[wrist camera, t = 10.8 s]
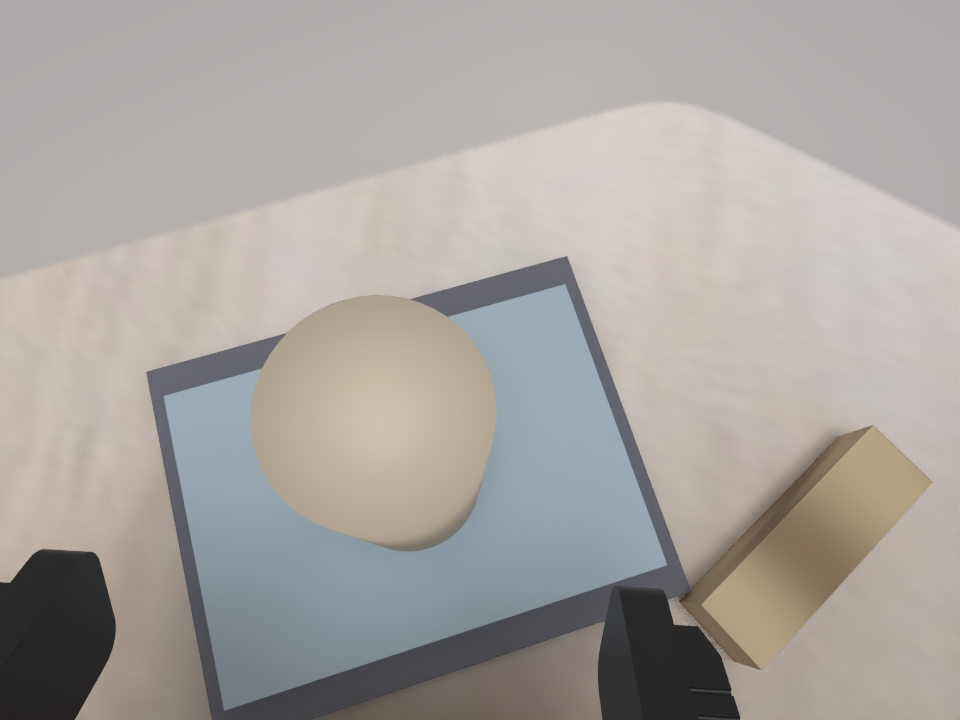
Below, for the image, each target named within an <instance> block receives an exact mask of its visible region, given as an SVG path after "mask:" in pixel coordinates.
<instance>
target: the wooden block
mask: <svg viewBox="0 0 960 720" xmlns="http://www.w3.org/2000/svg"><path fill="white" fill-rule="evenodd" d="M932 483H933V482H932V481H931V480H930V479H929V478H928V477H927V476H926V475H925V474H924V473H923V472H922V471H921V470H920V469H919V468H918V467H917V466H915V465H914V464H913V463H912V462H911V461H910V460H909V459H908V458H907V457H906V456H905V455H904V454H903V453H902V452H901V451H900V450H899V449H898V448H897V447H896V446H895V445H894V444H892V443H891V442H890V441H889V440H888V439H887V438H886V437H885V436H884V435H883V434H882V433H881V432H880V431H879V430H878V429H877V428H876V427H875V426H874V425H872V426H869V427H866V428H863V429H860V430H857V431H854V432H851V433H848V434H846V435H843V436H840V437H838V438H837V439H836V440H835V441H834V442H833V443H832V444H831V445H830V446H829V447H828V448H827V449H826V450H825V451H824V453H823V454H822V455H821V456H820V457H819V458H818V459H817V460H816V461H815V462H814V463H813V464H812V465H811V466H810V467H809V468H808V469H807V470H806V471H805V472H804V473H803V474H802V475H801V476H800V477H799V478H798V479H797V480H796V481H795V482H794V484H793V485H792V486H791V487H790V488H789V489H788V490H787V491H786V492H785V493H784V494H783V495H782V496H781V497H780V498H779V499H778V500H777V501H776V502H775V503H774V504H773V505H772V506H771V507H770V508H769V509H768V510H767V511H766V512H765V513H764V515H763V516H762V517H761V518H760V519H759V520H758V521H757V522H756V523H755V524H754V525H753V526H752V527H751V528H750V529H749V530H748V531H747V532H746V533H745V534H744V535H743V536H742V537H741V538H740V539H739V540H738V541H737V542H736V543H735V545H734V546H733V547H732V548H731V549H730V550H729V551H728V552H727V553H726V554H725V555H724V556H723V557H722V558H721V559H720V560H719V561H718V562H717V563H716V564H715V565H714V566H713V567H712V568H711V569H710V570H709V571H708V572H707V573H706V574H705V576H704V577H703V578H702V579H701V580H700V581H699V582H698V583H697V584H696V585H695V586H694V587H693V588H692V589H691V590H690V591H691V592H688V593H687V594H686V595H685V596H684V597H683V598H682V599H681V600H680V601H679V602H680V603H681V604H682V605H683V606H684V607H685V609H686V610H687V611H688V612H689V613H690V614H691V615H692V616H693V617H694V618H695V619H696V620H697V622H698V623H699V624H700V625H701V626H702V627H703V628H704V629H705V630H706V631H707V632H708V633H709V634H710V636H711V637H712V638H713V639H714V640H715V641H716V642H717V643H718V644H719V645H720V646H721V647H722V649H723V650H724V651H725V652H726V653H727V654H728V655H729V656H730V657H731V658H732V659H733V660H734V661H735V662H738V663H741V664H744V665H747V666H750V667H753V668H756V669H759V670H763V669H764V668H765V667H766V666H767V665H768V663H769V662H770V661H771V660H772V659H773V658H774V657H775V656H776V655H777V654H778V652H779V651H780V650H781V649H782V648H783V647H784V646H785V645H786V644H787V643H788V641H789V640H790V639H791V638H792V637H793V636H794V635H795V634H796V633H797V631H798V630H799V629H800V628H801V627H802V626H803V625H804V624H805V623H806V622H807V620H808V619H809V618H810V617H811V616H812V615H813V614H814V613H815V612H816V611H817V609H818V608H819V607H820V606H821V605H822V604H823V603H824V602H825V601H826V600H827V598H828V597H829V596H830V595H831V594H832V593H833V592H834V591H835V590H836V588H837V587H838V586H839V585H840V584H841V583H842V582H843V581H844V580H845V579H846V577H847V576H848V575H849V574H850V573H851V572H852V571H853V570H854V569H855V568H856V566H857V565H858V564H859V563H860V562H861V561H862V560H863V559H864V558H865V557H866V555H867V554H868V553H869V552H870V551H871V550H872V549H873V548H874V547H875V545H876V544H877V543H878V542H879V541H880V540H881V539H882V538H883V537H884V536H885V534H886V533H887V532H888V531H889V530H890V529H891V528H892V527H893V526H894V525H895V523H896V522H897V521H898V520H899V519H900V518H901V517H902V516H903V515H904V514H905V512H906V511H907V510H908V509H909V508H910V507H911V506H912V505H913V504H914V502H915V501H916V500H917V499H918V498H919V497H920V496H921V495H922V494H923V493H924V491H925V490H926V489H927V488H928V487H929V486H930V485H931V484H932Z"/></svg>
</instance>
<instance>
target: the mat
mask: <svg viewBox="0 0 960 720" xmlns="http://www.w3.org/2000/svg"><path fill="white" fill-rule="evenodd" d="M564 284H566V287H567V290H568V293H569V295H570V298H571V301H572V304H573V306H574V309H575V312H576V315H577V317H578V320H579V323H580V326H581V328H582V331H583V334H584V337H585V339H586V342H587V345H588V348H589V350H590V353H591V356H592V359H593V362H594V364H595V367H596V370H597V373H598V375H599V378H600V381H601V384H602V386H603V389H604V392H605V395H606V397H607V400H608V403H609V406H610V408H611V411H612V414H613V417H614V419H615V422H616V425H617V428H618V430H619V433H620V436H621V439H622V441H623V444H624V447H625V450H626V452H627V455H628V458H629V461H630V463H631V466H632V469H633V472H634V474H635V477H636V480H637V483H638V485H639V488H640V491H641V494H642V496H643V499H644V502H645V505H646V507H647V510H648V513H649V516H650V518H651V521H652V524H653V527H654V530H655V532H656V535H657V538H658V541H659V543H660V546H661V549H662V552H663V554H664V557H665V560H666V563H667V565H666V566H663V567H660V568H657V569H654V570H651V571H648V572H645V573H642V574H639V575H636V576H633V577H629V578H626V579H623V580H620V581H617V582H614V583H611V584H608V585H605V586H602V587H599V588H596V589H593V590H590V591H587V592H584V593H581V594H578V595H575V596H572V597H569V598H566V599H563V600H560V601H556V602H553V603H550V604H547V605H544V606H541V607H538V608H535V609H532V610H529V611H526V612H523V613H520V614H517V615H514V616H511V617H508V618H505V619H502V620H499V621H496V622H493V623H490V624H487V625H483V626H480V627H477V628H474V629H471V630H468V631H465V632H462V633H459V634H456V635H453V636H450V637H447V638H444V639H441V640H438V641H435V642H432V643H429V644H426V645H423V646H420V647H417V648H414V649H411V650H407V651H404V652H401V653H398V654H395V655H392V656H389V657H386V658H383V659H380V660H377V661H374V662H371V663H368V664H365V665H362V666H359V667H356V668H353V669H350V670H347V671H344V672H341V673H338V674H334V675H331V676H328V677H325V678H322V679H319V680H316V681H313V682H310V683H307V684H304V685H301V686H298V687H295V688H292V689H289V690H286V691H283V692H280V693H277V694H274V695H271V696H268V697H265V698H261V699H258V700H255V701H252V702H249V703H246V704H243V705H240V706H237V707H234V708H231V709H228V710H225V711H224V707H223V702H222V697H221V691H220V686H219V681H218V676H217V671H216V666H215V660H214V655H213V650H212V645H211V640H210V634H209V629H208V624H207V619H206V614H205V609H204V603H203V598H202V593H201V588H200V583H199V577H198V572H197V567H196V562H195V557H194V551H193V546H192V541H191V536H190V531H189V526H188V520H187V515H186V510H185V505H184V500H183V494H182V489H181V484H180V479H179V474H178V469H177V463H176V458H175V453H174V448H173V443H172V437H171V432H170V427H169V422H168V417H167V411H166V406H165V401H164V396H165V395H169V394H173V393H176V392H180V391H183V390H187V389H191V388H194V387H198V386H201V385H205V384H209V383H212V382H216V381H219V380H223V379H226V378H230V377H234V376H237V375H241V374H244V373H248V372H252V371H255V370H259V369H262V368H263V366H264V364H265V362H266V361H267V359H268V357H269V355H270V354H271V352H272V351H273V349H274V348H275V347H276V345H277V344H278V343H279V341H280V340H281V339H282V338H283V337H284V336H285V335H286V334H287V333H286V334H282V335H279V336H275V337H272V338H268V339H264V340H261V341H257V342H253V343H250V344H246V345H243V346H239V347H235V348H232V349H228V350H224V351H221V352H217V353H213V354H210V355H206V356H203V357H199V358H195V359H192V360H188V361H184V362H181V363H177V364H174V365H170V366H166V367H163V368H159V369H155V370H152V371H148V372H146V373H147V378H148V383H149V389H150V394H151V399H152V404H153V410H154V415H155V420H156V426H157V431H158V436H159V441H160V447H161V452H162V457H163V463H164V468H165V473H166V478H167V484H168V489H169V494H170V499H171V505H172V510H173V515H174V521H175V526H176V531H177V536H178V542H179V547H180V552H181V558H182V563H183V568H184V573H185V579H186V584H187V589H188V594H189V600H190V605H191V610H192V616H193V621H194V626H195V631H196V637H197V642H198V647H199V653H200V658H201V663H202V668H203V674H204V679H205V684H206V689H207V695H208V700H209V705H210V711H211V716H212V720H310V719H313V718H316V717H319V716H322V715H325V714H328V713H331V712H334V711H337V710H340V709H343V708H346V707H349V706H352V705H355V704H358V703H361V702H364V701H367V700H370V699H373V698H376V697H379V696H382V695H385V694H388V693H391V692H394V691H397V690H400V689H403V688H406V687H409V686H412V685H415V684H418V683H420V682H423V681H426V680H429V679H432V678H435V677H438V676H441V675H444V674H447V673H450V672H453V671H456V670H459V669H462V668H465V667H468V666H471V665H474V664H477V663H480V662H483V661H486V660H489V659H492V658H495V657H498V656H501V655H504V654H507V653H510V652H513V651H516V650H519V649H522V648H525V647H528V646H531V645H534V644H537V643H540V642H543V641H545V640H548V639H551V638H554V637H557V636H560V635H563V634H566V633H569V632H572V631H575V630H578V629H581V628H584V627H587V626H590V625H593V624H596V623H599V622H602V621H605V620H606V616H607V611H608V606H609V601H610V596H611V592H612V589H613V587H614V586H631V587H647V588H662V589H663V590H664V592H665V594H666V597H667V600H668V599H670V598H673V597H676V596H679V595H682V594H685V593H688V592H691V591H690V588H689V585H688V582H687V580H686V577H685V574H684V572H683V569H682V566H681V563H680V561H679V558H678V555H677V553H676V550H675V547H674V545H673V542H672V539H671V536H670V534H669V531H668V528H667V526H666V523H665V520H664V517H663V515H662V512H661V509H660V507H659V504H658V501H657V499H656V496H655V493H654V490H653V488H652V485H651V482H650V480H649V477H648V474H647V471H646V469H645V466H644V463H643V461H642V458H641V455H640V452H639V450H638V447H637V444H636V442H635V439H634V436H633V434H632V431H631V428H630V425H629V423H628V420H627V417H626V415H625V412H624V409H623V406H622V404H621V401H620V398H619V396H618V393H617V390H616V388H615V385H614V382H613V379H612V377H611V374H610V371H609V369H608V366H607V363H606V360H605V358H604V355H603V352H602V350H601V347H600V344H599V342H598V339H597V336H596V333H595V331H594V328H593V325H592V323H591V320H590V317H589V314H588V312H587V309H586V306H585V304H584V301H583V298H582V295H581V293H580V290H579V287H578V285H577V282H576V279H575V277H574V274H573V271H572V268H571V266H570V263H569V260H568V258H567V256H566V257H562V258H558V259H555V260H551V261H548V262H544V263H540V264H537V265H533V266H529V267H526V268H522V269H519V270H515V271H511V272H508V273H504V274H500V275H497V276H493V277H489V278H486V279H482V280H479V281H475V282H471V283H468V284H464V285H460V286H457V287H453V288H450V289H446V290H442V291H439V292H435V293H431V294H428V295H424V296H420V297H417V298H413V299H410V300H412V301H416V302H419V303H422V304H424V305H426V306H429V307H431V308H433V309H435V310H437V311H439V312H440V313H442V314H444V315H445V316H447V317H449V316H453V315H456V314H460V313H463V312H467V311H471V310H474V309H478V308H481V307H485V306H489V305H492V304H496V303H499V302H503V301H507V300H510V299H514V298H517V297H521V296H525V295H528V294H532V293H535V292H539V291H543V290H546V289H550V288H553V287H557V286H560V285H564Z"/></svg>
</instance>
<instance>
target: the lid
mask: <svg viewBox="0 0 960 720" xmlns="http://www.w3.org/2000/svg"><path fill="white" fill-rule="evenodd" d="M164 401H165V406H166V411H167V417H168V422H169V427H170V432H171V437H172V443H173V448H174V453H175V458H176V463H177V469H178V474H179V479H180V484H181V489H182V494H183V500H184V505H185V510H186V515H187V520H188V526H189V531H190V536H191V541H192V546H193V551H194V557H195V562H196V567H197V572H198V577H199V583H200V588H201V593H202V598H203V603H204V609H205V614H206V619H207V624H208V629H209V634H210V640H211V645H212V650H213V655H214V660H215V666H216V671H217V676H218V681H219V686H220V691H221V697H222V702H223V707H224V711H225V710H228V709H231V708H234V707H237V706H240V705H243V704H246V703H249V702H252V701H255V700H258V699H261V698H265V697H268V696H271V695H274V694H277V693H280V692H283V691H286V690H289V689H292V688H295V687H298V686H301V685H304V684H307V683H310V682H313V681H316V680H319V679H322V678H325V677H328V676H331V675H334V674H338V673H341V672H344V671H347V670H350V669H353V668H356V667H359V666H362V665H365V664H368V663H371V662H374V661H377V660H380V659H383V658H386V657H389V656H392V655H395V654H398V653H401V652H404V651H407V650H411V649H414V648H417V647H420V646H423V645H426V644H429V643H432V642H435V641H438V640H441V639H444V638H447V637H450V636H453V635H456V634H459V633H462V632H465V631H468V630H471V629H474V628H477V627H480V626H483V625H487V624H490V623H493V622H496V621H499V620H502V619H505V618H508V617H511V616H514V615H517V614H520V613H523V612H526V611H529V610H532V609H535V608H538V607H541V606H544V605H547V604H550V603H553V602H556V601H560V600H563V599H566V598H569V597H572V596H575V595H578V594H581V593H584V592H587V591H590V590H593V589H596V588H599V587H602V586H605V585H608V584H611V583H614V582H617V581H620V580H623V579H626V578H629V577H633V576H636V575H639V574H642V573H645V572H648V571H651V570H654V569H657V568H660V567H663V566H666V565H667V563H666V560H665V557H664V554H663V552H662V549H661V546H660V543H659V541H658V538H657V535H656V532H655V530H654V527H653V524H652V521H651V518H650V516H649V513H648V510H647V507H646V505H645V502H644V499H643V496H642V494H641V491H640V488H639V485H638V483H637V480H636V477H635V474H634V472H633V469H632V466H631V463H630V461H629V458H628V455H627V452H626V450H625V447H624V444H623V441H622V439H621V436H620V433H619V430H618V428H617V425H616V422H615V419H614V417H613V414H612V411H611V408H610V406H609V403H608V400H607V397H606V395H605V392H604V389H603V386H602V384H601V381H600V378H599V375H598V373H597V370H596V367H595V364H594V362H593V359H592V356H591V353H590V350H589V348H588V345H587V342H586V339H585V337H584V334H583V331H582V328H581V326H580V323H579V320H578V317H577V315H576V312H575V309H574V306H573V304H572V301H571V298H570V295H569V293H568V290H567V287H566V284H564V285H560V286H557V287H553V288H550V289H546V290H543V291H539V292H535V293H532V294H528V295H525V296H521V297H517V298H514V299H510V300H507V301H503V302H499V303H496V304H492V305H489V306H485V307H481V308H478V309H474V310H471V311H467V312H463V313H460V314H456V315H453V316H449V317H447V316H445V315H444V314H442V313H440V312H439V311H437V310H435V309H433V308H431V307H429V306H426V305H424V304H422V303H419V302H416V301H412V300H409V299H406V298H400V297H394V296H378V295H374V296H362V297H356V298H351V299H346V300H343V301H340V302H337V303H334V304H331V305H328V306H326V307H324V308H322V309H320V310H318V311H316V312H314V313H313V314H311V315H309V316H308V317H306V318H305V319H303V320H302V321H301V322H299V323H298V324H297V325H296V326H295V327H293V328H292V329H291V330H290V331H289V332H288V333H287V334H286V335H285V336H284V337H283V338H282V339H281V340H280V341H279V343H278V344H277V345H276V347H275V348H274V349H273V351H272V352H271V354H270V355H269V357H268V359H267V361H266V362H265V364H264V366H263V368H262V369H259V370H255V371H252V372H248V373H244V374H241V375H237V376H234V377H230V378H226V379H223V380H219V381H216V382H212V383H209V384H205V385H201V386H198V387H194V388H191V389H187V390H183V391H180V392H176V393H173V394H169V395H165V396H164Z"/></svg>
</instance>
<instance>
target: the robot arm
mask: <svg viewBox="0 0 960 720" xmlns="http://www.w3.org/2000/svg"><path fill="white" fill-rule="evenodd" d="M115 632H116V624H115V617H114V613H113V610H112V606H111V602H110V598H109V594H108V591H107V587H106V583H105V579H104V575H103V572H102V568H101V564H100V561H99V558H98V556H97V555H96V554H95V553H93V552H82V551H66V550H49V549H42V550H39V551H37V552H36V553H34V554H33V555H32V556H31V557H30V558H29V560H28V561H27V562H26V563H25V565H24V566H23V567H22V569H21V570H20V571H19V572H18V574H17V575H16V576H15V577H14V579H13V580H12V581H11V582H10V583H2V582H0V720H75V718H76V716H77V715H78V713H79V711H80V709H81V708H82V706H83V704H84V702H85V700H86V699H87V697H88V695H89V693H90V692H91V690H92V688H93V686H94V684H95V683H96V681H97V679H98V677H99V676H100V674H101V672H102V670H103V668H104V667H105V665H106V663H107V661H108V659H109V657H110V654H111V651H112V648H113V644H114V639H115ZM598 685H599V696H600V703H601V711H602V718H603V720H740V715H739V712H738V709H737V706H736V703H735V699H734V696H732V695H731V687H730V684H729V680H728V677H727V674H726V671H725V668H724V665H723V662H722V658H721V656H720V654H719V653H718V652H717V651H716V649H715V648H714V647H713V645H712V644H711V643H710V641H709V640H708V639H707V638H706V636H705V635H704V634H703V632H702V631H701V630H700V628H699V627H698V626H682V625H674V623H673V619H672V615H671V612H670V608H669V604H668V600H667V597H666V594H665V592H664V590H663V589H662V588H647V587H631V586H614V587H613V589H612V592H611V596H610V601H609V606H608V611H607V616H606V621H605V626H604V631H603V636H602V641H601V646H600V652H599V662H598Z"/></svg>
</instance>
